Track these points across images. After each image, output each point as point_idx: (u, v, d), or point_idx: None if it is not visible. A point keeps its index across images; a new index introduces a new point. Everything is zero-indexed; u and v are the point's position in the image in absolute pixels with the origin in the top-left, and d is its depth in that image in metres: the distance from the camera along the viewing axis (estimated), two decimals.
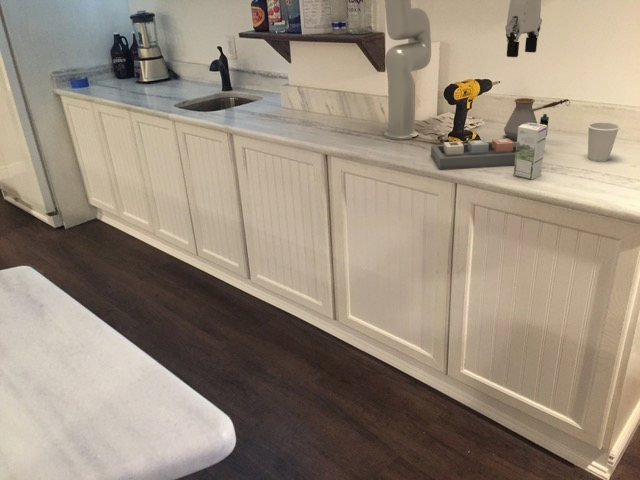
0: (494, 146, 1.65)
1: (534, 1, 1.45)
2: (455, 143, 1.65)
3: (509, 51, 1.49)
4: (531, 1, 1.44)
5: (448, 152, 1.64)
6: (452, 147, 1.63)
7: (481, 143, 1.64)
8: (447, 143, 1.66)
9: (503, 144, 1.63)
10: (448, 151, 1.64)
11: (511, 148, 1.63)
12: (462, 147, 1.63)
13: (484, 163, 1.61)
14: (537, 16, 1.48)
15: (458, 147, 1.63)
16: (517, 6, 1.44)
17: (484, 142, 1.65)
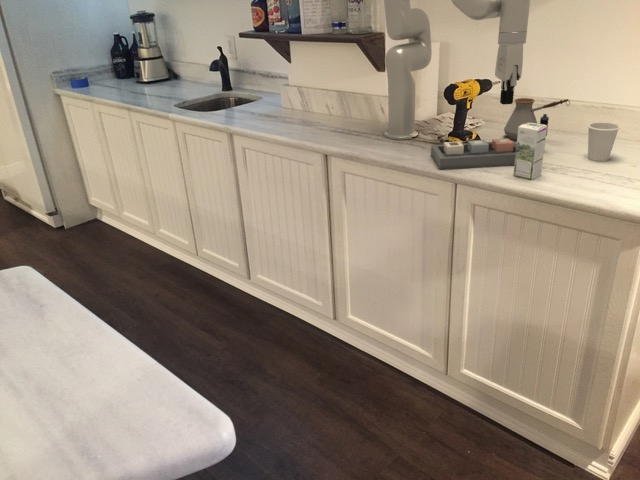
0: (494, 146, 1.65)
1: None
2: (455, 143, 1.65)
3: (507, 99, 1.58)
4: None
5: (448, 152, 1.64)
6: (452, 147, 1.63)
7: (481, 143, 1.64)
8: (447, 143, 1.66)
9: (503, 144, 1.63)
10: (448, 151, 1.64)
11: (511, 148, 1.63)
12: (462, 147, 1.63)
13: (484, 163, 1.61)
14: None
15: (458, 147, 1.63)
16: (516, 55, 1.50)
17: (484, 142, 1.65)
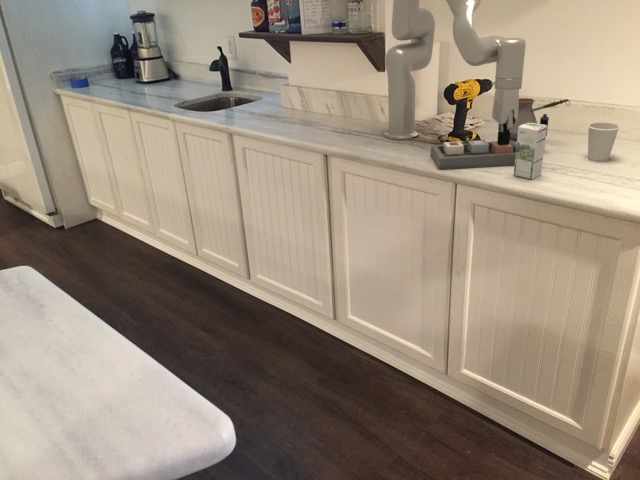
0: (494, 150, 1.66)
1: None
2: (455, 143, 1.65)
3: (503, 140, 1.63)
4: None
5: (448, 152, 1.64)
6: (452, 147, 1.63)
7: (481, 143, 1.64)
8: (447, 143, 1.66)
9: (503, 148, 1.63)
10: (448, 151, 1.64)
11: (511, 152, 1.64)
12: (462, 147, 1.63)
13: (484, 163, 1.61)
14: None
15: (458, 147, 1.63)
16: (512, 101, 1.55)
17: (484, 142, 1.65)
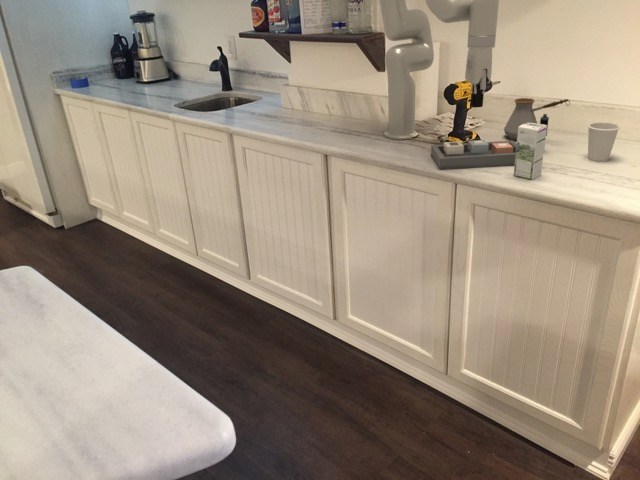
0: (494, 150, 1.66)
1: None
2: (455, 143, 1.65)
3: (477, 102, 1.59)
4: None
5: (448, 152, 1.64)
6: (452, 147, 1.63)
7: (481, 143, 1.64)
8: (447, 143, 1.66)
9: (503, 148, 1.63)
10: (448, 151, 1.64)
11: (511, 152, 1.64)
12: (462, 147, 1.63)
13: (484, 163, 1.61)
14: None
15: (458, 147, 1.63)
16: (485, 59, 1.50)
17: (484, 142, 1.65)
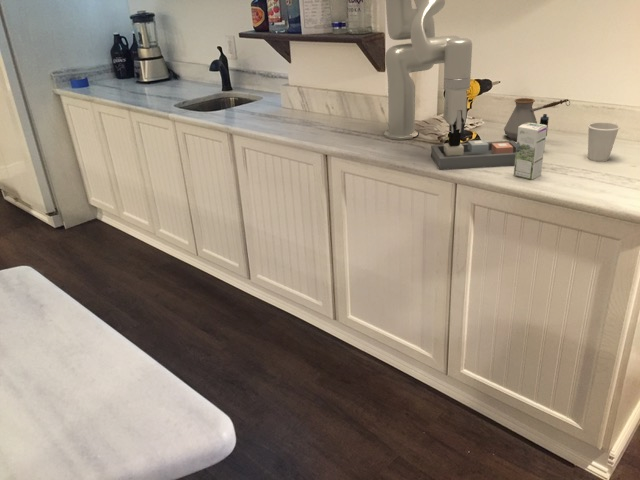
0: (494, 150, 1.66)
1: None
2: None
3: (454, 141, 1.63)
4: None
5: (448, 153, 1.64)
6: (452, 148, 1.64)
7: (481, 143, 1.64)
8: (447, 144, 1.67)
9: (503, 148, 1.63)
10: (448, 152, 1.64)
11: (511, 152, 1.64)
12: (462, 148, 1.63)
13: (484, 163, 1.61)
14: None
15: (458, 148, 1.63)
16: (460, 101, 1.55)
17: (484, 142, 1.65)
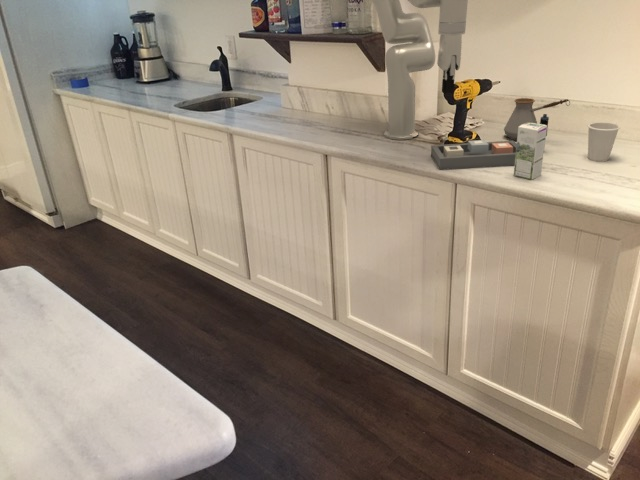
0: (494, 150, 1.66)
1: None
2: (455, 147, 1.66)
3: (447, 88, 1.61)
4: None
5: (448, 156, 1.65)
6: (452, 151, 1.64)
7: (481, 143, 1.64)
8: (447, 147, 1.67)
9: (503, 148, 1.63)
10: (448, 155, 1.64)
11: (511, 152, 1.64)
12: (462, 151, 1.64)
13: (484, 163, 1.61)
14: None
15: (458, 151, 1.64)
16: (454, 46, 1.52)
17: (484, 142, 1.65)
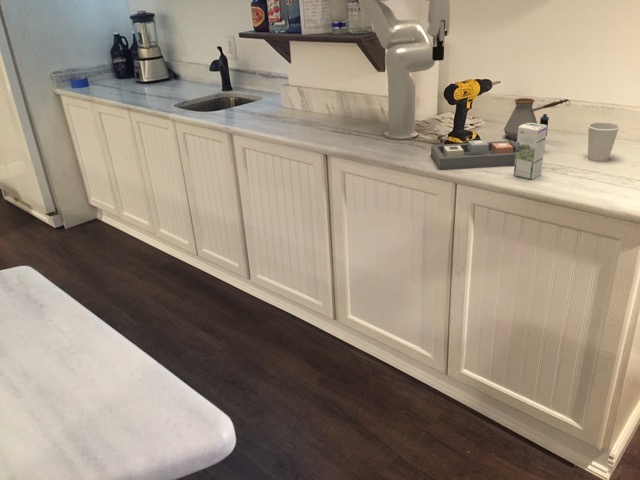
0: (494, 150, 1.66)
1: None
2: (455, 147, 1.66)
3: (437, 55, 1.63)
4: None
5: (448, 156, 1.65)
6: (452, 151, 1.64)
7: (481, 143, 1.64)
8: (447, 147, 1.67)
9: (503, 148, 1.63)
10: (448, 155, 1.64)
11: (511, 152, 1.64)
12: (462, 151, 1.64)
13: (484, 163, 1.61)
14: None
15: (458, 151, 1.64)
16: (443, 11, 1.55)
17: (484, 142, 1.65)
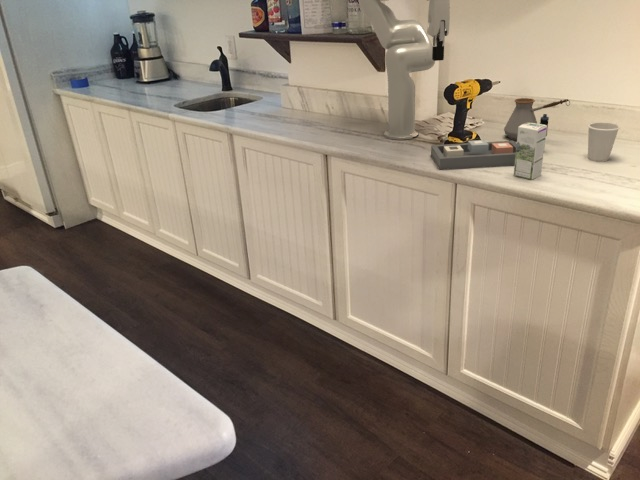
0: (494, 150, 1.66)
1: None
2: (455, 147, 1.66)
3: (437, 55, 1.63)
4: None
5: (448, 156, 1.65)
6: (452, 151, 1.64)
7: (481, 143, 1.64)
8: (447, 147, 1.67)
9: (503, 148, 1.63)
10: (448, 155, 1.64)
11: (511, 152, 1.64)
12: (462, 151, 1.64)
13: (484, 163, 1.61)
14: None
15: (458, 151, 1.64)
16: (443, 11, 1.55)
17: (484, 142, 1.65)
